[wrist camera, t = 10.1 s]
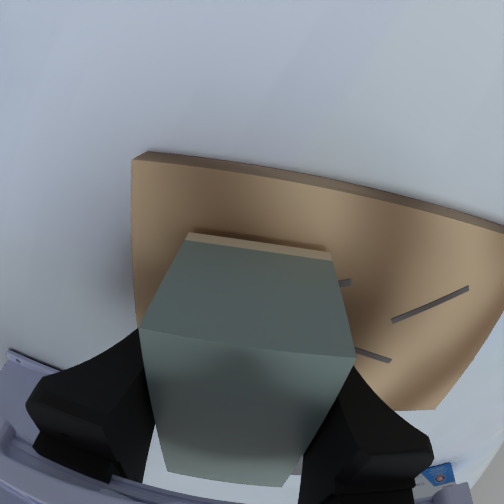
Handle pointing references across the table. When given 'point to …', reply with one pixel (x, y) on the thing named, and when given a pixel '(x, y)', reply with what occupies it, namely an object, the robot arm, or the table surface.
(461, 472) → the table surface
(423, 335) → the oak board
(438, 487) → the ink box
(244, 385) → the block
